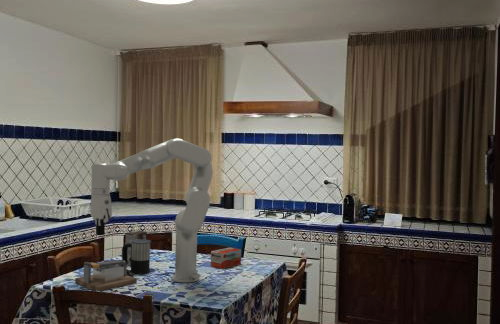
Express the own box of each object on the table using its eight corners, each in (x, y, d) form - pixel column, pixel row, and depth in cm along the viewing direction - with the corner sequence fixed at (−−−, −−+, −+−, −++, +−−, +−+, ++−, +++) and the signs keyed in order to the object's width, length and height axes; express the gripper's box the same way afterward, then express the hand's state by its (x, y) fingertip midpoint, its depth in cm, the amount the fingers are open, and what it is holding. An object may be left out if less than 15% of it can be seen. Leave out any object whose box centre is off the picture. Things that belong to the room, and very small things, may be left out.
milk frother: (150, 269, 240) (151, 239, 239) (148, 278, 224) (149, 245, 224) (120, 269, 238) (121, 239, 237) (116, 278, 222) (117, 245, 222)
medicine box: (229, 261, 260) (229, 246, 260) (241, 264, 255) (241, 249, 255) (210, 266, 248) (210, 251, 248) (222, 269, 243) (222, 253, 243)
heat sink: (130, 277, 217) (130, 258, 217) (92, 284, 203) (92, 265, 203) (117, 272, 224) (118, 254, 223) (79, 280, 210) (80, 260, 210)
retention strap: (120, 261, 222) (120, 259, 222) (127, 264, 218) (127, 261, 218) (86, 266, 210) (86, 263, 210) (92, 268, 206) (93, 265, 206)
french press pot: (139, 261, 255) (139, 230, 255) (146, 263, 251) (147, 231, 251) (124, 264, 248) (125, 232, 248) (132, 266, 244) (132, 234, 244)
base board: (136, 283, 215) (136, 278, 215) (97, 291, 201) (97, 287, 201) (113, 275, 227) (114, 270, 227) (75, 282, 213) (75, 278, 213)
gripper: (118, 192, 208) (117, 236, 208) (99, 190, 218) (99, 231, 218) (102, 193, 202) (101, 238, 203) (83, 191, 212) (83, 233, 213)
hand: (100, 234), depth 211 cm, fingers closed
